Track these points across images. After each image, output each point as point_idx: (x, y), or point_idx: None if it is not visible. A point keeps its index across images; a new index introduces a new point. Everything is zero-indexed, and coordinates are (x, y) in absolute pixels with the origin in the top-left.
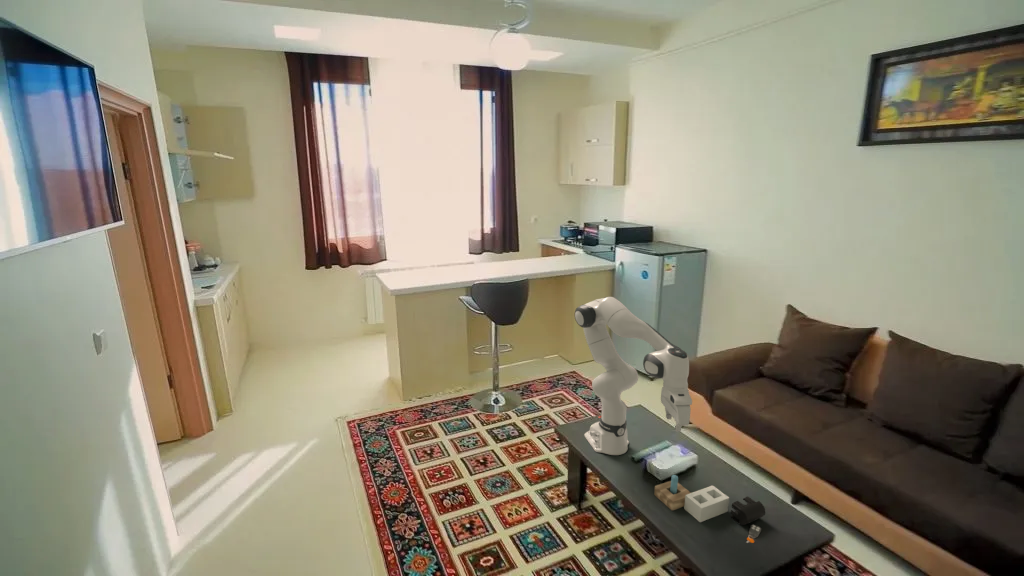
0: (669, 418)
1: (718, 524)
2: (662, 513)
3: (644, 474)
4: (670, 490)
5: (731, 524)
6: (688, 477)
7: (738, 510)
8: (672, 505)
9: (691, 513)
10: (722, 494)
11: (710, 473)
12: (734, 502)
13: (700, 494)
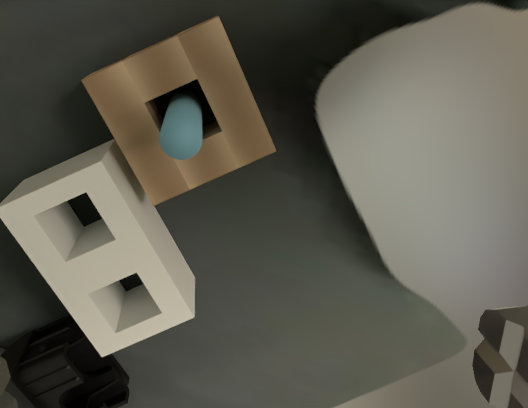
0: (490, 354)
1: (23, 251)
2: (66, 11)
3: (390, 15)
4: (183, 99)
5: (32, 300)
6: (343, 231)
7: (32, 362)
8: (87, 76)
9: (71, 159)
10: (124, 337)
11: (361, 327)
12: (65, 367)
13: (114, 240)
